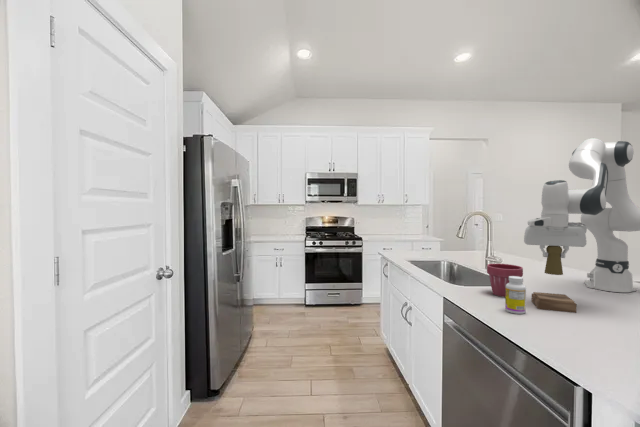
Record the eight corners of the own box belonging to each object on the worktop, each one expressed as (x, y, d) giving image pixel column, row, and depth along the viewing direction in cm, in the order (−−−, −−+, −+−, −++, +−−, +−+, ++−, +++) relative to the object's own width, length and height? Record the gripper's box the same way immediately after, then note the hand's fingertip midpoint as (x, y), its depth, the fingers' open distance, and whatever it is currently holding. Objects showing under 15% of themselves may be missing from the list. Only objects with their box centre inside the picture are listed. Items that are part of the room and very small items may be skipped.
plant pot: (521, 300, 144) (522, 269, 144) (484, 295, 152) (485, 266, 151) (522, 293, 156) (523, 265, 156) (488, 289, 164) (488, 262, 163)
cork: (558, 272, 138) (559, 244, 138) (566, 275, 132) (566, 246, 132) (541, 271, 139) (542, 244, 139) (548, 274, 133) (549, 246, 133)
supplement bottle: (508, 308, 133) (509, 274, 133) (528, 311, 129) (528, 277, 128) (502, 311, 129) (503, 277, 128) (522, 315, 124) (523, 279, 124)
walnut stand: (531, 301, 143) (531, 291, 143) (565, 304, 139) (566, 294, 139) (538, 309, 132) (538, 298, 132) (576, 312, 128) (576, 301, 128)
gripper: (583, 222, 134) (582, 257, 135) (523, 221, 141) (522, 254, 142) (589, 222, 128) (589, 260, 129) (526, 221, 136) (526, 257, 136)
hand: (553, 257), depth 135 cm, fingers closed on cork, 4 cm apart
